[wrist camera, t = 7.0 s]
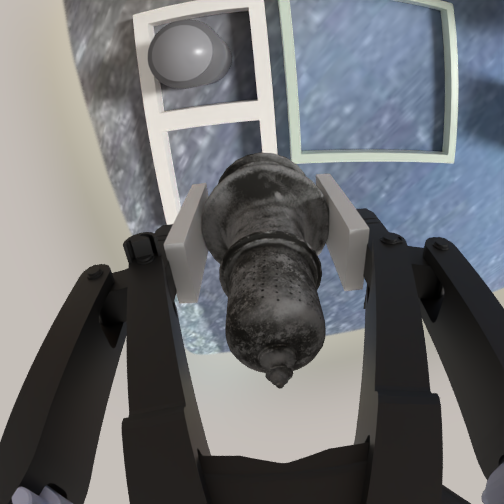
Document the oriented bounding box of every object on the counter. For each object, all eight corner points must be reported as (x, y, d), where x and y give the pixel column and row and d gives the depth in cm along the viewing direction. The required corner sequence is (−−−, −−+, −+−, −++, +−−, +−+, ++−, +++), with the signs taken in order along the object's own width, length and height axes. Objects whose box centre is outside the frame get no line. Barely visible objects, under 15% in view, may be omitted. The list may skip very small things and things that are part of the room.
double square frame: (139, 17, 25) (93, 0, 16) (262, -3, 24) (265, -36, 15) (172, 223, 38) (147, 275, 29) (280, 214, 37) (288, 266, 28)
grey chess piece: (267, 262, 20) (280, 451, 9) (189, 204, 18) (119, 386, 7) (337, 195, 17) (434, 364, 7) (258, 124, 15) (276, 231, 5)
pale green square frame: (275, -15, 23) (276, -19, 22) (446, 5, 22) (452, 3, 21) (290, 160, 34) (292, 163, 32) (447, 159, 33) (453, 163, 31)
